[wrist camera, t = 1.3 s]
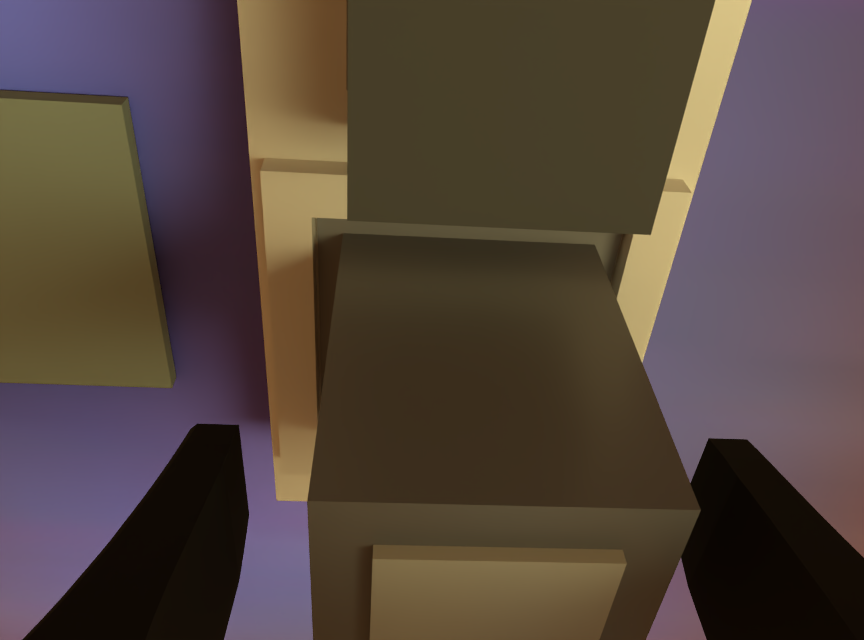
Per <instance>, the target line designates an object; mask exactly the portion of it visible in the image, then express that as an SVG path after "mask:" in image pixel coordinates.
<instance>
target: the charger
mask: <svg viewBox="0 0 864 640" xmlns="http://www.w3.org/2000/svg"><path fill="white" fill-rule="evenodd" d="M307 506H308V529H309V552H310V575H311V599H312V622H313V640H646V638H647V635H648V633H649V631H650V628H651V626H652V624H653V621H654V619H655V617H656V614H657V612H658V610H659V607H660V605H661V603H662V600H663V598H664V596H665V593H666V591H667V588H668V586H669V584H670V581H671V579H672V577H673V574H674V572H675V570H676V567H677V565H678V563H679V560H680V558H681V556H682V553H683V551H684V549H685V546H686V544H687V542H688V539H689V537H690V534H691V532H692V530H693V527H694V525H695V523H696V520H697V518H698V516H699V513H700V511H701V509H700V507H699V504H698V502H697V499H696V497H695V494H694V492H693V489H692V487H691V484H690V482H689V479H688V477H687V474H686V472H685V469H684V467H683V464H682V462H681V459H680V457H679V454H678V452H677V449H676V447H675V444H674V442H673V439H672V437H671V434H670V432H669V429H668V427H667V424H666V422H665V419H664V417H663V414H662V412H661V409H660V407H659V404H658V402H657V399H656V397H655V394H654V392H653V389H652V387H651V384H650V382H649V379H648V377H647V374H646V372H645V369H644V367H643V364H642V361H641V359H640V356H639V354H638V351H637V349H636V346H635V344H634V341H633V339H632V336H631V334H630V331H629V329H628V326H627V324H626V321H625V319H624V316H623V314H622V311H621V309H620V306H619V304H618V301H617V299H616V296H615V294H614V291H613V289H612V286H611V284H610V281H609V279H608V276H607V274H606V271H605V269H604V266H603V264H602V261H601V259H600V256H599V254H598V251H597V249H596V246H595V245H591V244H570V243H548V242H526V241H505V240H483V239H461V238H440V237H418V236H396V235H374V234H353V233H343V238H342V246H341V253H340V261H339V268H338V276H337V283H336V291H335V298H334V306H333V313H332V321H331V328H330V335H329V343H328V350H327V358H326V365H325V373H324V380H323V388H322V395H321V403H320V410H319V418H318V425H317V432H316V440H315V447H314V455H313V462H312V470H311V477H310V485H309V492H308V500H307Z"/></svg>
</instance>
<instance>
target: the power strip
mask: <svg viewBox="0 0 864 640" xmlns="http://www.w3.org/2000/svg"><path fill="white" fill-rule="evenodd" d="M751 1H752V0H715V4H714V7H713V11H712V15H711V18H710V22H709V26H708V29H707V33H706V36H705V40H704V44H703V47H702V51H701V55H700V58H699V62H698V65H697V69H696V73H695V76H694V80H693V84H692V87H691V91H690V94H689V98H688V102H687V105H686V109H685V113H684V116H683V120H682V123H681V127H680V131H679V134H678V138H677V142H676V145H675V149H674V152H673V156H672V160H671V163H670V167H669V171H668V174H667V178H666V181H665V185H664V189H663V192H662V196H661V200H660V203H659V207H658V211H657V214H656V218H655V221H654V225H653V229H652V232H651V235H639V234H618V233H597V232H576V231H555V230H533V229H512V228H491V227H470V226H448V225H427V224H406V223H385V222H364V221H347V93H348V0H237V6H238V19H239V32H240V44H241V57H242V69H243V82H244V95H245V107H246V120H247V133H248V145H249V158H250V170H251V183H252V196H253V208H254V221H255V234H256V246H257V259H258V271H259V284H260V297H261V309H262V322H263V335H264V347H265V360H266V373H267V385H268V398H269V410H270V423H271V436H272V448H273V461H274V474H275V486H276V499H277V500H278V501H307V500H308V492H309V485H310V477H311V470H312V462H313V455H314V447H315V440H316V432H317V425H318V418H319V410H320V403H321V395H322V388H323V380H324V373H325V365H326V358H327V350H328V343H329V335H330V328H331V321H332V313H333V306H334V298H335V291H336V283H337V276H338V268H339V261H340V253H341V246H342V238H343V233H353V234H374V235H396V236H418V237H440V238H461V239H483V240H505V241H526V242H548V243H570V244H591V245H595V246H596V249H597V251H598V254H599V256H600V259H601V261H602V264H603V266H604V269H605V271H606V274H607V276H608V279H609V281H610V284H611V286H612V289H613V291H614V294H615V296H616V299H617V301H618V304H619V306H620V309H621V311H622V314H623V316H624V319H625V321H626V324H627V326H628V329H629V331H630V334H631V336H632V339H633V341H634V344H635V346H636V349H637V351H638V354H639V356H640V359H641V361H643V358H644V355H645V351H646V348H647V345H648V342H649V338H650V335H651V332H652V328H653V325H654V322H655V318H656V315H657V312H658V308H659V305H660V302H661V299H662V295H663V292H664V289H665V285H666V282H667V279H668V275H669V272H670V269H671V265H672V262H673V259H674V256H675V252H676V249H677V246H678V242H679V239H680V236H681V232H682V229H683V226H684V223H685V219H686V216H687V213H688V209H689V206H690V203H691V199H692V196H693V193H694V189H695V186H696V183H697V180H698V176H699V173H700V170H701V166H702V163H703V160H704V156H705V153H706V150H707V147H708V143H709V140H710V137H711V133H712V130H713V127H714V123H715V120H716V117H717V113H718V110H719V107H720V104H721V100H722V97H723V94H724V90H725V87H726V84H727V80H728V77H729V74H730V71H731V67H732V64H733V61H734V57H735V54H736V51H737V47H738V44H739V41H740V37H741V34H742V31H743V28H744V24H745V21H746V18H747V14H748V11H749V8H750V4H751Z"/></svg>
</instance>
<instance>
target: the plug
mask: <svg viewBox="0 0 864 640" xmlns="http://www.w3.org/2000/svg"><path fill="white" fill-rule="evenodd" d="M714 4H715V0H348V93H347V221H364V222H385V223H406V224H427V225H448V226H470V227H491V228H512V229H533V230H555V231H576V232H597V233H618V234H639V235H651V232H652V229H653V225H654V221H655V218H656V214H657V211H658V207H659V203H660V200H661V196H662V192H663V189H664V185H665V181H666V178H667V174H668V171H669V167H670V163H671V160H672V156H673V152H674V149H675V145H676V142H677V138H678V134H679V131H680V127H681V123H682V120H683V116H684V113H685V109H686V105H687V102H688V98H689V94H690V91H691V87H692V84H693V80H694V76H695V73H696V69H697V65H698V62H699V58H700V55H701V51H702V47H703V44H704V40H705V36H706V33H707V29H708V26H709V22H710V18H711V15H712V11H713V7H714Z"/></svg>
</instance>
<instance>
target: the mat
mask: <svg viewBox="0 0 864 640" xmlns="http://www.w3.org/2000/svg"><path fill="white" fill-rule="evenodd" d="M175 379H176V373H175V367H174V361H173V356H172V350H171V344H170V338H169V332H168V327H167V321H166V315H165V309H164V303H163V298H162V292H161V286H160V280H159V274H158V269H157V263H156V257H155V251H154V245H153V240H152V234H151V228H150V222H149V216H148V211H147V205H146V199H145V193H144V187H143V182H142V176H141V170H140V164H139V158H138V153H137V147H136V141H135V135H134V129H133V124H132V118H131V112H130V106H129V100H128V97H113V96H95V95H77V94H60V93H42V92H24V91H7V90H0V382H2V383H32V384H63V385H94V386H125V387H155V388H172V387H173V384H174V382H175Z"/></svg>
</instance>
